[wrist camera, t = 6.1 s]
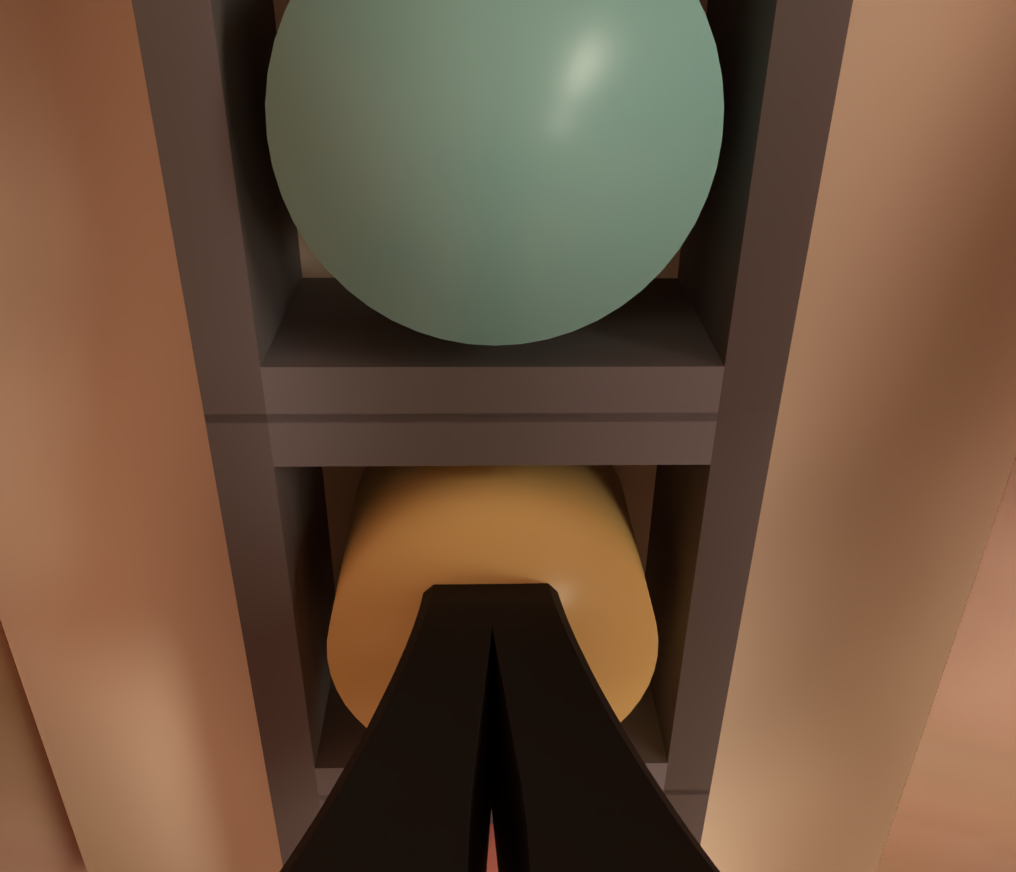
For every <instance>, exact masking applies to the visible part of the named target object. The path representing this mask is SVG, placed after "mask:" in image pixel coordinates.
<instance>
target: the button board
mask: <svg viewBox="0 0 1016 872" xmlns="http://www.w3.org/2000/svg"><path fill="white" fill-rule="evenodd" d="M289 2H290V0H0V620H1V623H2V626H3V629H4V632H5V635H6V638H7V641H8V643H9V646H10V649H11V652H12V655H13V658H14V661H15V664H16V667H17V670H18V673H19V675H20V678H21V681H22V684H23V687H24V690H25V693H26V696H27V699H28V702H29V704H30V707H31V710H32V713H33V716H34V719H35V722H36V725H37V728H38V731H39V733H40V736H41V739H42V742H43V745H44V748H45V751H46V754H47V757H48V760H49V762H50V765H51V768H52V771H53V774H54V777H55V780H56V783H57V786H58V789H59V792H60V794H61V797H62V800H63V803H64V806H65V809H66V812H67V815H68V818H69V821H70V823H71V826H72V829H73V832H74V835H75V838H76V841H77V844H78V847H79V850H80V852H81V855H82V858H83V861H84V864H85V867H86V870H87V872H279V871H280V870H281V869H282V867H283V866H284V864H285V863H286V861H287V860H288V858H289V857H290V855H291V854H292V852H293V851H294V849H295V848H296V846H297V845H298V843H299V842H300V840H301V839H302V837H303V836H304V834H305V832H306V831H307V829H308V828H309V826H310V825H311V823H312V822H313V820H314V818H315V817H316V815H317V814H318V812H319V810H320V809H321V807H322V806H323V804H324V802H325V800H326V799H327V797H328V795H329V794H330V792H331V790H332V788H333V787H334V785H335V783H336V781H337V780H338V778H339V776H340V775H341V773H342V771H343V769H344V768H345V766H346V764H347V763H348V761H349V759H350V757H351V756H352V754H353V752H354V751H355V749H356V747H357V745H358V744H359V742H360V740H361V738H362V736H363V734H364V732H365V731H366V729H367V728H366V727H365V726H364V725H363V724H362V723H361V722H360V721H359V720H358V719H357V718H356V717H355V716H354V715H353V714H352V712H351V711H350V710H349V709H348V707H347V706H346V705H345V704H344V702H343V700H342V698H341V697H340V695H339V693H338V692H337V690H336V687H335V685H334V682H333V680H332V677H331V674H330V669H329V665H328V660H327V638H328V631H329V625H330V620H331V615H332V610H333V605H334V600H335V595H336V591H337V586H338V581H339V576H340V571H341V566H342V561H343V557H344V552H345V547H346V542H347V537H348V532H349V528H350V523H351V518H352V513H353V508H354V503H355V498H356V494H357V491H358V488H359V485H360V482H361V479H362V477H363V475H364V473H365V471H366V469H367V467H368V466H520V465H613V467H614V469H615V471H616V473H617V475H618V477H619V479H620V482H621V485H622V488H623V492H624V495H625V499H626V503H627V507H628V511H629V515H630V519H631V523H632V527H633V531H634V535H635V539H636V543H637V548H638V552H639V556H640V560H641V564H642V568H643V572H644V576H645V580H646V584H647V588H648V592H649V596H650V600H651V604H652V608H653V612H654V616H655V620H656V625H657V632H658V656H657V661H656V665H655V670H654V673H653V675H652V678H651V681H650V683H649V686H648V687H647V689H646V691H645V693H644V694H643V696H642V698H641V700H640V701H639V702H638V704H637V705H636V706H635V707H634V709H633V710H632V711H631V712H630V714H629V715H628V716H627V717H626V718H625V719H624V720H623V721H622V722H620V723H621V725H622V726H623V728H624V730H625V732H626V733H627V735H628V737H629V739H630V740H631V742H632V744H633V745H634V747H635V748H636V750H637V752H638V753H639V755H640V756H641V758H642V760H643V761H644V763H645V765H646V766H647V768H648V769H649V771H650V772H651V774H652V775H653V777H654V778H655V780H656V781H657V783H658V784H659V786H660V787H661V789H662V791H663V792H664V794H665V795H666V797H667V798H668V800H669V801H670V803H671V804H672V806H673V807H674V809H675V810H676V812H677V813H678V814H679V816H680V817H681V819H682V820H683V822H684V823H685V824H686V826H687V827H688V829H689V830H690V832H691V833H692V834H693V836H694V837H695V839H696V840H697V841H698V843H699V844H700V845H701V847H702V848H703V850H704V851H705V852H706V854H707V855H708V856H709V858H710V859H711V860H712V862H713V863H714V864H715V866H716V867H717V868H718V869H719V871H720V872H876V870H877V867H878V864H879V862H880V859H881V856H882V853H883V850H884V847H885V844H886V841H887V838H888V835H889V832H890V829H891V826H892V823H893V820H894V817H895V814H896V811H897V808H898V805H899V802H900V799H901V796H902V793H903V790H904V787H905V784H906V781H907V778H908V775H909V772H910V770H911V767H912V764H913V761H914V758H915V755H916V752H917V749H918V746H919V743H920V740H921V737H922V734H923V731H924V728H925V725H926V722H927V719H928V716H929V713H930V710H931V707H932V704H933V701H934V698H935V695H936V692H937V689H938V686H939V683H940V680H941V678H942V675H943V672H944V669H945V666H946V663H947V660H948V657H949V654H950V651H951V648H952V645H953V642H954V639H955V636H956V633H957V630H958V627H959V624H960V621H961V618H962V615H963V612H964V609H965V606H966V603H967V600H968V597H969V594H970V591H971V589H972V586H973V583H974V580H975V577H976V574H977V571H978V568H979V565H980V562H981V559H982V556H983V553H984V550H985V547H986V544H987V541H988V538H989V535H990V532H991V529H992V526H993V523H994V520H995V517H996V514H997V511H998V508H999V505H1000V502H1001V499H1002V497H1003V494H1004V491H1005V488H1006V485H1007V482H1008V479H1009V476H1010V473H1011V470H1012V467H1013V464H1014V461H1015V458H1016V0H699V2H700V4H701V6H702V8H703V10H704V12H705V14H706V17H707V20H708V23H709V26H710V29H711V32H712V35H713V38H714V41H715V44H716V48H717V53H718V58H719V63H720V68H721V73H722V82H723V97H724V119H723V135H722V143H721V148H720V153H719V159H718V164H717V169H716V172H715V175H714V178H713V181H712V185H711V188H710V191H709V194H708V197H707V199H706V201H705V204H704V206H703V208H702V210H701V212H700V214H699V217H698V219H697V221H696V223H695V225H694V226H693V228H692V230H691V231H690V233H689V235H688V236H687V238H686V239H685V241H684V243H683V244H682V246H681V248H680V249H679V250H678V251H677V253H676V254H675V255H674V256H673V258H672V259H671V260H670V261H669V263H668V264H667V265H666V266H665V268H664V269H663V270H662V271H661V272H660V273H659V274H658V275H657V276H656V277H655V278H654V279H653V280H652V281H651V282H650V283H649V284H648V285H647V286H646V287H645V288H644V289H643V290H642V291H640V292H639V293H638V294H637V295H635V296H634V297H633V298H631V299H630V300H629V301H628V302H626V303H625V304H624V305H622V306H621V307H619V308H618V309H616V310H614V311H613V312H611V313H609V314H608V315H606V316H604V317H603V318H601V319H599V320H598V321H595V322H593V323H591V324H589V325H586V326H584V327H582V328H580V329H577V330H575V331H573V332H570V333H566V334H563V335H560V336H557V337H554V338H550V339H547V340H541V341H536V342H530V343H525V344H515V345H498V346H492V345H475V344H465V343H460V342H454V341H449V340H443V339H440V338H436V337H433V336H430V335H427V334H423V333H420V332H417V331H415V330H412V329H410V328H408V327H406V326H403V325H401V324H399V323H397V322H394V321H392V320H390V319H389V318H387V317H385V316H384V315H382V314H380V313H379V312H377V311H375V310H374V309H372V308H370V307H369V306H367V305H366V304H365V303H364V302H362V301H361V300H360V299H358V298H357V297H356V296H354V295H353V294H352V293H351V292H349V291H348V290H347V289H346V288H345V287H344V286H343V285H342V284H341V283H340V282H339V281H338V280H337V279H336V278H335V277H334V276H333V275H332V274H331V273H330V272H329V271H328V270H327V269H326V268H325V267H324V266H323V264H322V263H321V262H320V261H319V259H318V258H317V257H316V256H315V254H314V253H313V252H312V251H311V249H310V248H309V247H308V245H307V243H306V242H305V240H304V238H303V237H302V235H301V234H300V232H299V230H298V229H297V227H296V225H295V224H294V222H293V220H292V218H291V215H290V213H289V211H288V209H287V207H286V204H285V202H284V200H283V198H282V196H281V193H280V190H279V186H278V183H277V180H276V177H275V173H274V170H273V167H272V162H271V157H270V151H269V146H268V140H267V131H266V112H265V100H266V87H267V74H268V68H269V64H270V59H271V54H272V49H273V45H274V40H275V37H276V35H277V32H278V29H279V26H280V23H281V21H282V18H283V15H284V12H285V10H286V8H287V6H288V4H289ZM490 824H493V818H492V809H491V820H490Z"/></svg>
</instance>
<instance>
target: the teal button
mask: <svg viewBox="0 0 1016 872" xmlns="http://www.w3.org/2000/svg"><path fill="white" fill-rule="evenodd" d="M265 112H266V131H267V140H268V146H269V151H270V157H271V162H272V167H273V170H274V173H275V177H276V180H277V183H278V186H279V190H280V193H281V196H282V198H283V200H284V202H285V204H286V207H287V209H288V211H289V213H290V215H291V218H292V220H293V222H294V224H295V225H296V227H297V229H298V230H299V232H300V234H301V235H302V237H303V238H304V240H305V242H306V243H307V245H308V247H309V248H310V249H311V251H312V252H313V253H314V254H315V256H316V257H317V258H318V259H319V261H320V262H321V263H322V264H323V266H324V267H325V268H326V269H327V270H328V271H329V272H330V273H331V274H332V275H333V276H334V277H335V278H336V279H337V280H338V281H339V282H340V283H341V284H342V285H343V286H344V287H345V288H346V289H347V290H348V291H349V292H351V293H352V294H353V295H354V296H356V297H357V298H358V299H360V300H361V301H362V302H364V303H365V304H366V305H367V306H369V307H370V308H372V309H374V310H375V311H377V312H379V313H380V314H382V315H384V316H385V317H387V318H389V319H390V320H392V321H394V322H397V323H399V324H401V325H403V326H406V327H408V328H410V329H412V330H415V331H417V332H420V333H423V334H427V335H430V336H433V337H436V338H440V339H443V340H449V341H454V342H460V343H465V344H475V345H492V346H498V345H515V344H525V343H530V342H536V341H541V340H547V339H550V338H554V337H557V336H560V335H563V334H566V333H570V332H573V331H575V330H577V329H580V328H582V327H584V326H586V325H589V324H591V323H593V322H595V321H598V320H599V319H601V318H603V317H604V316H606V315H608V314H609V313H611V312H613V311H614V310H616V309H618V308H619V307H621V306H622V305H624V304H625V303H626V302H628V301H629V300H630V299H631V298H633V297H634V296H635V295H637V294H638V293H639V292H640V291H642V290H643V289H644V288H645V287H646V286H647V285H648V284H649V283H650V282H651V281H652V280H653V279H654V278H655V277H656V276H657V275H658V274H659V273H660V272H661V271H662V270H663V269H664V268H665V266H666V265H667V264H668V263H669V261H670V260H671V259H672V258H673V256H674V255H675V254H676V253H677V251H678V250H679V249H680V248H681V246H682V244H683V243H684V241H685V239H686V238H687V236H688V235H689V233H690V231H691V230H692V228H693V226H694V225H695V223H696V221H697V219H698V217H699V214H700V212H701V210H702V208H703V206H704V204H705V201H706V199H707V197H708V194H709V191H710V188H711V185H712V181H713V178H714V175H715V172H716V169H717V164H718V159H719V153H720V148H721V143H722V135H723V119H724V97H723V82H722V73H721V68H720V63H719V58H718V53H717V48H716V44H715V41H714V38H713V35H712V32H711V29H710V26H709V23H708V20H707V17H706V14H705V12H704V10H703V8H702V6H701V4H700V2H699V0H290V2H289V4H288V6H287V8H286V10H285V12H284V15H283V18H282V21H281V23H280V26H279V29H278V32H277V35H276V37H275V40H274V45H273V49H272V54H271V59H270V64H269V68H268V74H267V87H266V100H265Z"/></svg>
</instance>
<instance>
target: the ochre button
mask: <svg viewBox="0 0 1016 872" xmlns="http://www.w3.org/2000/svg"><path fill="white" fill-rule="evenodd" d="M525 583H549V584H550V585H551V586H552V587H553V588H554V589H555V590H556V591H557V592H558V594H559V597H560V600H561V603H562V606H563V608H564V611H565V614H566V616H567V619H568V621H569V624H570V626H571V628H572V631H573V633H574V635H575V637H576V640H577V642H578V644H579V646H580V648H581V650H582V652H583V654H584V656H585V658H586V660H587V662H588V664H589V666H590V669H591V671H592V673H593V674H594V676H595V678H596V680H597V682H598V684H599V686H600V688H601V690H602V691H603V693H604V695H605V697H606V699H607V700H608V702H609V704H610V706H611V707H612V709H613V711H614V712H615V714H616V716H617V718H618V719H619V721H620V722H622V721H623V720H624V719H625V718H626V717H627V716H628V715H629V714H630V712H631V711H632V710H633V709H634V707H635V706H636V705H637V704H638V702H639V701H640V700H641V698H642V696H643V694H644V693H645V691H646V689H647V687H648V686H649V683H650V681H651V678H652V675H653V673H654V670H655V665H656V661H657V656H658V632H657V625H656V620H655V616H654V612H653V608H652V604H651V600H650V596H649V592H648V588H647V584H646V580H645V576H644V572H643V568H642V564H641V560H640V556H639V552H638V548H637V543H636V539H635V535H634V531H633V527H632V523H631V519H630V515H629V511H628V507H627V503H626V499H625V495H624V492H623V488H622V485H621V482H620V479H619V477H618V475H617V473H616V471H615V469H614V467H613V465H520V466H368V467H367V469H366V471H365V473H364V475H363V477H362V479H361V482H360V485H359V488H358V491H357V494H356V498H355V503H354V508H353V513H352V518H351V523H350V528H349V532H348V537H347V542H346V547H345V552H344V557H343V561H342V566H341V571H340V576H339V581H338V586H337V591H336V595H335V600H334V605H333V610H332V615H331V620H330V625H329V631H328V638H327V660H328V665H329V669H330V674H331V677H332V680H333V682H334V685H335V687H336V690H337V692H338V693H339V695H340V697H341V698H342V700H343V702H344V704H345V705H346V706H347V707H348V709H349V710H350V711H351V712H352V714H353V715H354V716H355V717H356V718H357V719H358V720H359V721H360V722H361V723H362V724H363V725H364V726H365V727H366V728H367V727H368V725H369V723H370V721H371V719H372V717H373V715H374V713H375V711H376V709H377V707H378V705H379V703H380V701H381V699H382V697H383V695H384V693H385V690H386V688H387V686H388V684H389V682H390V680H391V678H392V676H393V674H394V672H395V670H396V667H397V665H398V663H399V660H400V658H401V656H402V653H403V651H404V649H405V646H406V644H407V641H408V639H409V636H410V634H411V631H412V628H413V626H414V623H415V620H416V617H417V614H418V611H419V608H420V604H421V600H422V596H423V593H424V592H425V591H426V590H427V589H429V588H430V587H431V586H432V585H433V584H525Z"/></svg>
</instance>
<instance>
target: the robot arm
mask: <svg viewBox="0 0 1016 872" xmlns="http://www.w3.org/2000/svg"><path fill="white" fill-rule="evenodd" d="M491 809H492V818H493V828H494V837H495V847H496V856H497V865H498V872H720V871H719V869H718V868H717V867H716V866H715V864H714V863H713V862H712V860H711V859H710V858H709V856H708V855H707V854H706V852H705V851H704V850H703V848H702V847H701V845H700V844H699V843H698V841H697V840H696V839H695V837H694V836H693V834H692V833H691V832H690V830H689V829H688V827H687V826H686V824H685V823H684V822H683V820H682V819H681V817H680V816H679V814H678V813H677V812H676V810H675V809H674V807H673V806H672V804H671V803H670V801H669V800H668V798H667V797H666V795H665V794H664V792H663V791H662V789H661V787H660V786H659V784H658V783H657V781H656V780H655V778H654V777H653V775H652V774H651V772H650V771H649V769H648V768H647V766H646V765H645V763H644V761H643V760H642V758H641V756H640V755H639V753H638V752H637V750H636V748H635V747H634V745H633V744H632V742H631V740H630V739H629V737H628V735H627V733H626V732H625V730H624V728H623V726H622V725H621V723H620V721H619V719H618V718H617V716H616V714H615V712H614V711H613V709H612V707H611V706H610V704H609V702H608V700H607V699H606V697H605V695H604V693H603V691H602V690H601V688H600V686H599V684H598V682H597V680H596V678H595V676H594V674H593V673H592V671H591V669H590V666H589V664H588V662H587V660H586V658H585V656H584V654H583V652H582V650H581V648H580V646H579V644H578V642H577V640H576V637H575V635H574V633H573V631H572V628H571V626H570V624H569V621H568V619H567V616H566V614H565V611H564V608H563V606H562V603H561V600H560V597H559V594H558V592H557V591H556V590H555V589H554V588H553V587H552V586H551V585H550V584H549V583H525V584H433V585H432V586H431V587H430V588H429V589H427V590H426V591H425V592H424V593H423V596H422V600H421V604H420V608H419V611H418V614H417V617H416V620H415V623H414V626H413V628H412V631H411V634H410V636H409V639H408V641H407V644H406V646H405V649H404V651H403V653H402V656H401V658H400V660H399V663H398V665H397V667H396V670H395V672H394V674H393V676H392V678H391V680H390V682H389V684H388V686H387V688H386V690H385V693H384V695H383V697H382V699H381V701H380V703H379V705H378V707H377V709H376V711H375V713H374V715H373V717H372V719H371V721H370V723H369V725H368V727H367V729H366V731H365V732H364V734H363V736H362V738H361V740H360V742H359V744H358V745H357V747H356V749H355V751H354V752H353V754H352V756H351V757H350V759H349V761H348V763H347V764H346V766H345V768H344V769H343V771H342V773H341V775H340V776H339V778H338V780H337V781H336V783H335V785H334V787H333V788H332V790H331V792H330V794H329V795H328V797H327V799H326V800H325V802H324V804H323V806H322V807H321V809H320V810H319V812H318V814H317V815H316V817H315V818H314V820H313V822H312V823H311V825H310V826H309V828H308V829H307V831H306V832H305V834H304V836H303V837H302V839H301V840H300V842H299V843H298V845H297V846H296V848H295V849H294V851H293V852H292V854H291V855H290V857H289V858H288V860H287V861H286V863H285V864H284V866H283V867H282V869H281V870H280V871H279V872H487V859H488V846H489V833H490V820H491Z"/></svg>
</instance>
